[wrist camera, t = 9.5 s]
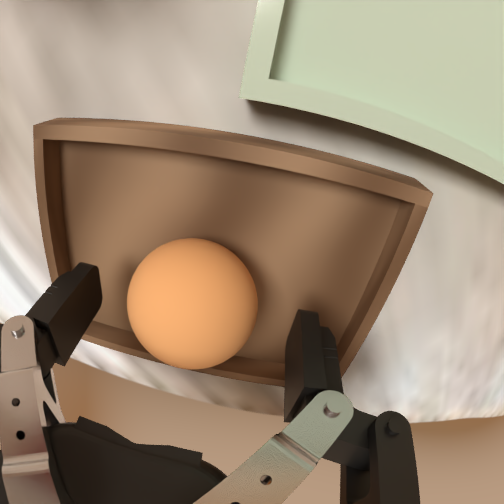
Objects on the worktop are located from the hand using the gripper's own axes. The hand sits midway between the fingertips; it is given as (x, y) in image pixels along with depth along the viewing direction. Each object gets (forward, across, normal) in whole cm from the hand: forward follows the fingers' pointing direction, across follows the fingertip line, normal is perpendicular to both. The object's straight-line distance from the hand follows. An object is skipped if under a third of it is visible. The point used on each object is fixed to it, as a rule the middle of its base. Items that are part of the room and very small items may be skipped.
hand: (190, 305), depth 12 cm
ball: (+2, 0, 0) cm, 3 cm away
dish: (+3, -8, -15) cm, 17 cm away
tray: (+3, 0, 0) cm, 3 cm away
